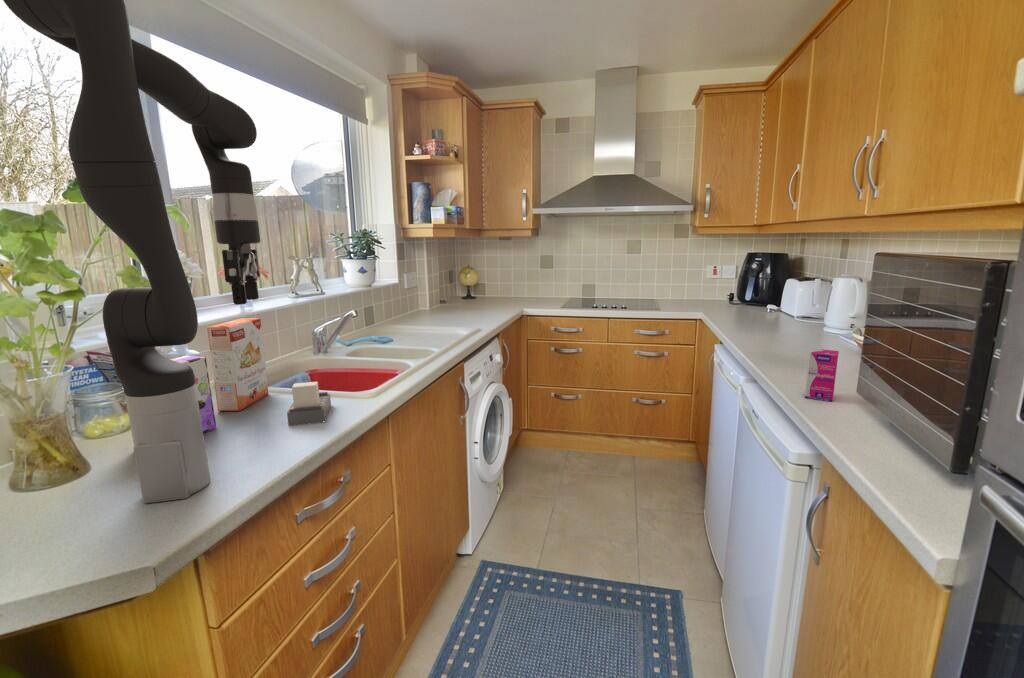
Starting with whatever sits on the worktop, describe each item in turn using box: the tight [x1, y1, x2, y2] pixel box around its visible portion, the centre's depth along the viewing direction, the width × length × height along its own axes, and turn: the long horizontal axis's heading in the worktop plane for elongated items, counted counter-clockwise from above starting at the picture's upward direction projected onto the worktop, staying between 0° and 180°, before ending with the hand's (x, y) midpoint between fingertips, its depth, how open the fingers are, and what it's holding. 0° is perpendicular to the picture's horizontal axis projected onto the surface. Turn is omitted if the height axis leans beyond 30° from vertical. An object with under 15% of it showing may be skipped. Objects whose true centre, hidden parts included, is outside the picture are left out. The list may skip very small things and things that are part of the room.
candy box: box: [169, 355, 217, 434], centre depth 100 cm, size 14×6×16 cm, turn 161°
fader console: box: [286, 391, 332, 427], centre depth 114 cm, size 12×8×4 cm, turn 13°
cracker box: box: [206, 317, 269, 412], centre depth 122 cm, size 14×6×21 cm, turn 179°
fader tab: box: [291, 381, 320, 408], centre depth 110 cm, size 3×5×5 cm, turn 103°
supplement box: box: [804, 347, 840, 403], centre depth 118 cm, size 6×6×12 cm
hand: (247, 301), depth 98 cm, fingers open, 8 cm apart
